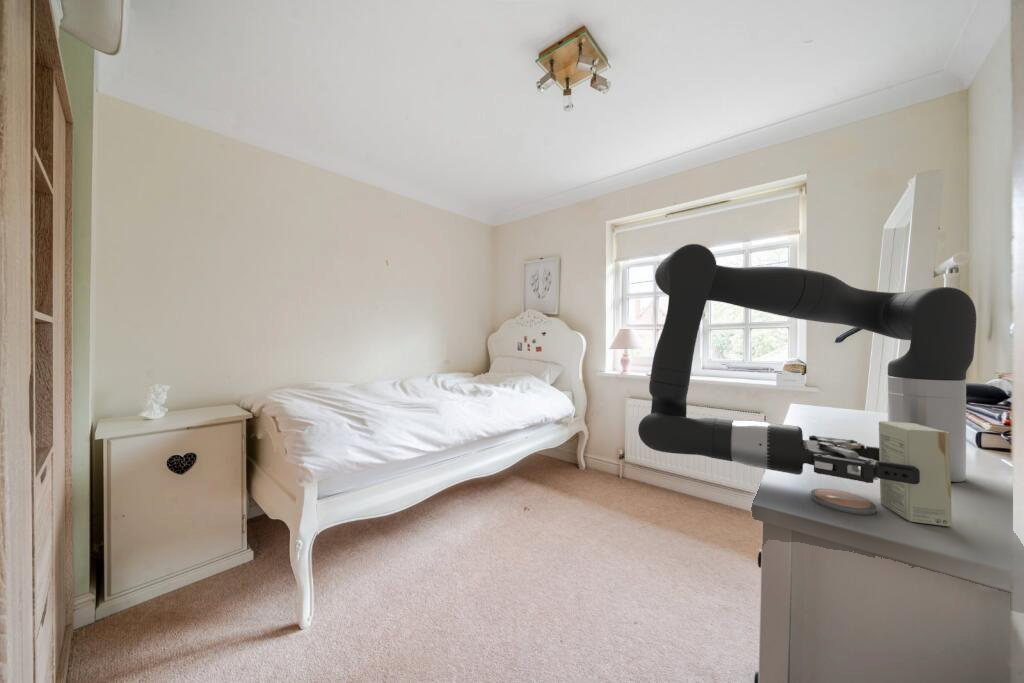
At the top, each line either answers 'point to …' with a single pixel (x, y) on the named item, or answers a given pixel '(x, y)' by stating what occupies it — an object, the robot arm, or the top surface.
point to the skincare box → (933, 462)
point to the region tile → (843, 501)
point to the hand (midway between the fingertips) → (909, 466)
